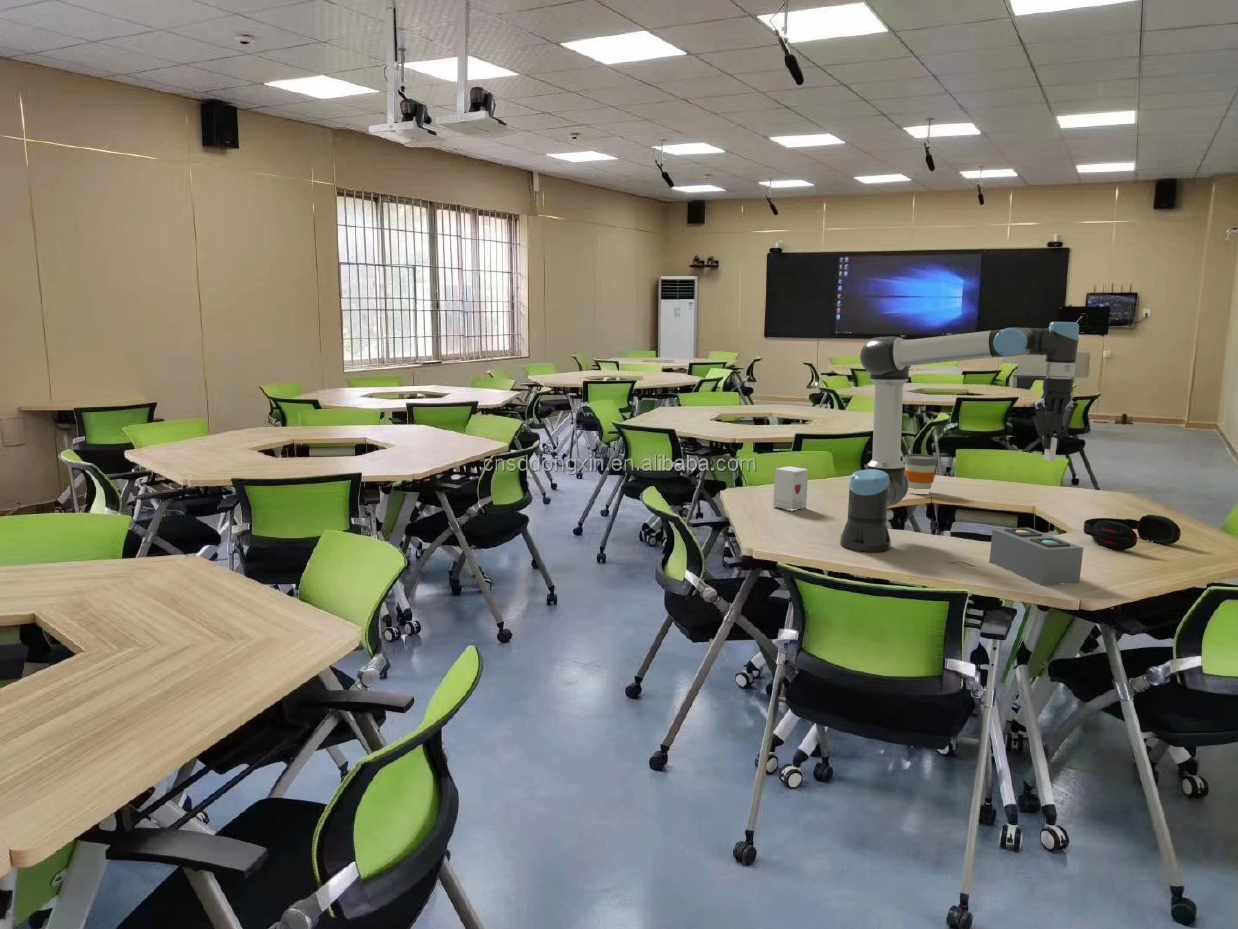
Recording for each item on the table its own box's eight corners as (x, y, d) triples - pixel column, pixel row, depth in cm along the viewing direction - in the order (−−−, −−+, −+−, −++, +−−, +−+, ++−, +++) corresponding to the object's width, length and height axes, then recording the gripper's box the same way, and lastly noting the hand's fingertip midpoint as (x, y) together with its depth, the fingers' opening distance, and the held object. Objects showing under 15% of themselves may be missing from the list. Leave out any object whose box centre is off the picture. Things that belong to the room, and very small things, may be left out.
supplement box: (791, 512, 310) (794, 471, 307) (772, 507, 316) (774, 468, 314) (807, 508, 316) (809, 469, 313) (787, 504, 322) (789, 465, 320)
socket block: (989, 562, 250) (992, 527, 248) (1024, 560, 253) (1028, 525, 251) (1041, 585, 229) (1045, 547, 227) (1079, 583, 232) (1083, 545, 230)
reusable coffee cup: (896, 489, 353) (899, 454, 350) (925, 489, 354) (928, 454, 351) (910, 496, 340) (913, 459, 338) (940, 495, 342) (943, 459, 339)
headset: (1168, 562, 253) (1172, 534, 252) (1071, 546, 270) (1075, 519, 268) (1182, 544, 274) (1186, 518, 273) (1091, 529, 291) (1094, 504, 289)
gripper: (1046, 378, 233) (1037, 462, 237) (1088, 378, 235) (1078, 462, 239) (1029, 376, 240) (1020, 458, 244) (1069, 376, 242) (1060, 457, 247)
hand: (1049, 460), depth 242 cm, fingers closed
